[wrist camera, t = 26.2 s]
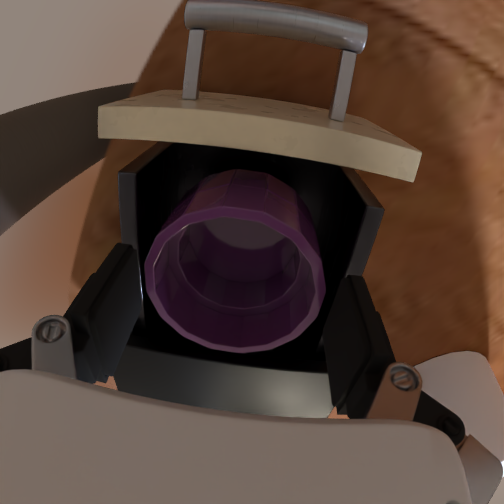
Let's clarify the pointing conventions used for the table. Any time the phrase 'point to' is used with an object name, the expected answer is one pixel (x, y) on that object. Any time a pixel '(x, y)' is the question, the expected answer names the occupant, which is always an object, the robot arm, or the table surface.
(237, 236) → the bowl
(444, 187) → the table surface
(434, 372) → the cylinder
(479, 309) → the table surface
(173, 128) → the drawer
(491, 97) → the table surface
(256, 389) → the cabinet
